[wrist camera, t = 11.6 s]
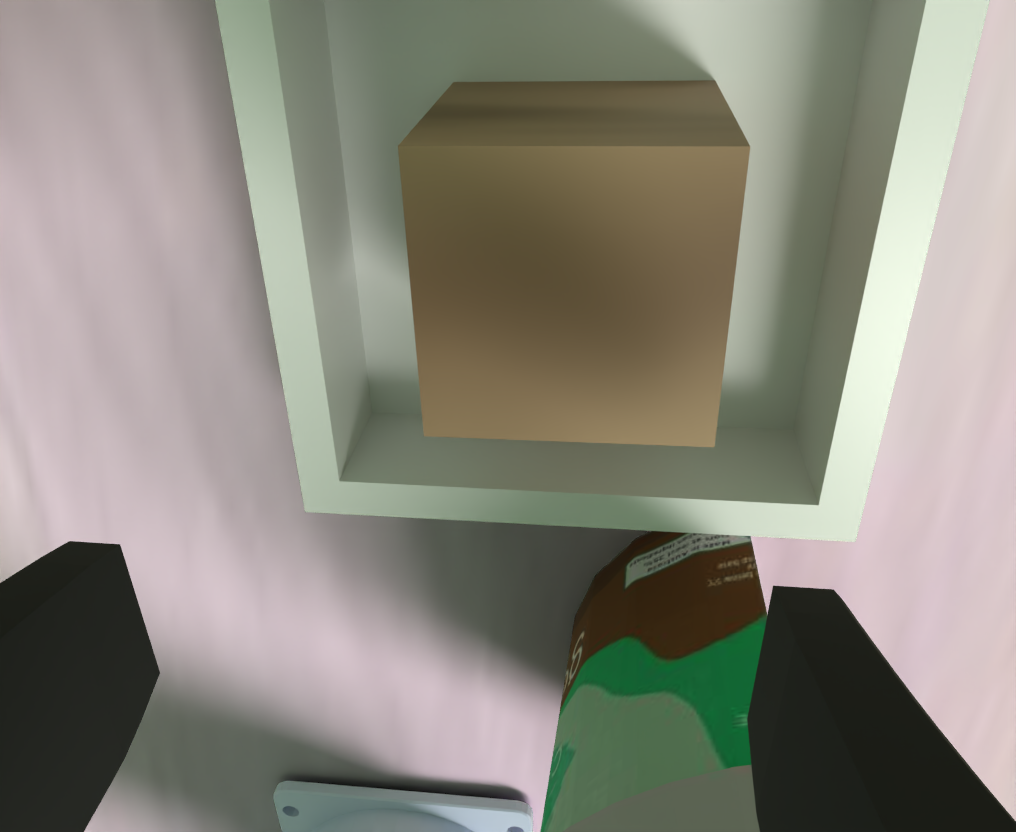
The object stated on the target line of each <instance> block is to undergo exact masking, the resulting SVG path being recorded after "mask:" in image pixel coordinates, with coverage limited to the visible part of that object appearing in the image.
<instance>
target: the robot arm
mask: <svg viewBox="0 0 1016 832" xmlns="http://www.w3.org/2000/svg"><path fill="white" fill-rule="evenodd" d="M159 674H160V672H159V668H158V665H157V662H156V659H155V656H154V652H153V649H152V646H151V643H150V639H149V636H148V633H147V630H146V627H145V623H144V620H143V617H142V614H141V611H140V607H139V604H138V601H137V598H136V594H135V591H134V588H133V585H132V582H131V578H130V575H129V572H128V569H127V566H126V562H125V559H124V556H123V553H122V549H121V546H120V544H104V543H88V542H72V541H69V542H67V543H66V544H64V545H62V546H60V547H58V548H57V549H55V550H53V551H51V552H50V553H48V554H46V555H45V556H43V557H41V558H40V559H38V560H36V561H35V562H33V563H32V564H30V565H28V566H27V567H25V568H24V569H22V570H20V571H19V572H17V573H16V574H14V575H12V576H11V577H9V578H8V579H6V580H5V581H3V582H1V583H0V832H84V830H85V829H86V827H87V825H88V823H89V821H90V820H91V818H92V816H93V814H94V813H95V811H96V809H97V807H98V805H99V804H100V802H101V800H102V798H103V797H104V795H105V793H106V791H107V789H108V788H109V786H110V784H111V782H112V781H113V779H114V777H115V775H116V773H117V771H118V770H119V768H120V766H121V764H122V762H123V760H124V759H125V757H126V754H127V752H128V750H129V747H130V745H131V743H132V740H133V738H134V736H135V733H136V731H137V729H138V727H139V724H140V722H141V720H142V717H143V715H144V712H145V710H146V707H147V704H148V702H149V699H150V697H151V694H152V692H153V689H154V687H155V684H156V682H157V679H158V676H159ZM747 722H748V733H749V744H750V756H751V767H752V777H753V786H754V796H755V806H756V814H757V819H758V824H759V829H760V832H1016V821H1015V820H1014V819H1013V818H1012V817H1011V815H1010V814H1009V813H1008V812H1007V811H1006V810H1005V808H1004V807H1003V806H1002V805H1001V804H1000V803H999V801H998V800H997V799H996V798H995V797H994V795H993V794H992V793H991V792H990V791H989V790H988V788H987V787H986V786H985V785H984V784H983V782H982V781H981V780H980V779H979V777H978V776H977V775H976V774H975V773H974V771H973V770H972V769H971V768H970V766H969V765H968V764H967V763H966V761H965V760H964V759H963V758H962V757H961V755H960V754H959V753H958V752H957V750H956V749H955V748H954V747H953V745H952V744H951V743H950V742H949V741H948V739H947V738H946V737H945V736H944V734H943V733H942V732H941V731H940V729H939V728H938V727H937V726H936V724H935V723H934V722H933V721H932V719H931V718H930V717H929V716H928V714H927V713H926V712H925V710H924V709H923V708H922V707H921V705H920V704H919V703H918V701H917V700H916V699H915V697H914V696H913V695H912V694H911V692H910V691H909V690H908V688H907V687H906V686H905V684H904V683H903V682H902V680H901V679H900V678H899V676H898V675H897V674H896V672H895V671H894V670H893V668H892V667H891V666H890V664H889V663H888V662H887V660H886V659H885V658H884V656H883V655H882V654H881V652H880V651H879V649H878V648H877V647H876V645H875V644H874V643H873V641H872V640H871V639H870V637H869V636H868V634H867V633H866V632H865V630H864V629H863V628H862V626H861V625H860V623H859V622H858V621H857V619H856V618H855V616H854V615H853V614H852V612H851V611H850V610H849V608H848V607H847V605H846V604H845V603H844V601H843V600H842V599H841V597H840V596H839V595H838V594H837V593H836V592H835V591H834V590H831V589H815V588H800V587H784V586H773V590H772V595H771V600H770V605H769V610H768V615H767V620H766V625H765V631H764V636H763V641H762V646H761V651H760V656H759V661H758V666H757V671H756V676H755V682H754V687H753V692H752V697H751V702H750V707H749V712H748V717H747ZM273 800H274V804H275V807H276V811H277V815H278V819H279V823H280V827H281V831H282V832H533V811H532V808H531V807H530V806H529V805H528V804H526V803H524V802H522V801H517V800H507V799H495V798H484V797H472V796H461V795H450V794H438V793H427V792H415V791H404V790H392V789H381V788H369V787H358V786H346V785H335V784H323V783H312V782H300V781H283V782H281V783H279V784H278V785H277V787H276V789H275V792H274V795H273Z"/></svg>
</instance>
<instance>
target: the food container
mask: <svg viewBox="0 0 1016 832" xmlns="http://www.w3.org/2000/svg"><path fill="white" fill-rule="evenodd" d="M766 620H767V612H766V607H765V602H764V598H763V593H762V588H761V584H760V579H759V574H758V570H757V565H756V560H755V556H754V551H753V546H752V542H751V537H750V536H738V535H719V534H701V533H682V532H664V531H651V532H649V533H647V534H645V535H643V536H641V537H639V538H636V539H635V540H634V541H633V542H632V543H631V544H629V545H628V546H627V547H626V548H625V549H624V550H623V551H622V552H621V553H620V554H618V555H617V556H616V557H615V558H614V559H613V560H612V561H611V562H610V563H609V564H608V565H606V566H605V567H604V568H603V569H602V570H601V571H600V572H599V573H598V574H597V575H596V576H595V578H594V580H593V581H592V583H591V585H590V587H589V589H588V591H587V593H586V595H585V597H584V599H583V601H582V603H581V605H580V607H579V609H578V611H577V613H576V615H575V620H574V626H573V632H572V639H571V645H570V651H569V657H568V664H567V670H566V676H565V682H564V689H563V695H562V701H561V707H560V714H559V720H558V726H557V732H556V739H555V745H554V751H553V757H552V764H551V770H550V776H549V782H548V789H547V795H546V801H545V807H544V814H543V820H542V826H541V832H760V829H759V824H758V819H757V814H756V806H755V796H754V786H753V777H752V767H751V756H750V744H749V733H748V722H747V717H748V712H749V707H750V702H751V697H752V692H753V687H754V682H755V676H756V671H757V666H758V661H759V656H760V651H761V646H762V641H763V636H764V631H765V625H766Z"/></svg>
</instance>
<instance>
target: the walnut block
mask: <svg viewBox="0 0 1016 832" xmlns="http://www.w3.org/2000/svg"><path fill="white" fill-rule="evenodd" d="M398 154H399V166H400V177H401V188H402V199H403V210H404V221H405V232H406V243H407V255H408V266H409V277H410V288H411V299H412V310H413V321H414V332H415V344H416V355H417V366H418V377H419V388H420V399H421V410H422V422H423V433H424V436H428V437H454V438H480V439H507V440H533V441H560V442H586V443H612V444H639V445H665V446H692V447H715V438H716V430H717V422H718V413H719V405H720V397H721V388H722V380H723V372H724V363H725V355H726V346H727V338H728V330H729V321H730V313H731V305H732V296H733V288H734V280H735V271H736V263H737V254H738V246H739V238H740V229H741V221H742V213H743V204H744V196H745V188H746V179H747V171H748V163H749V154H750V145H749V143H748V141H747V139H746V137H745V135H744V133H743V132H742V130H741V128H740V126H739V124H738V122H737V120H736V118H735V117H734V115H733V113H732V111H731V109H730V107H729V105H728V103H727V102H726V100H725V98H724V96H723V94H722V92H721V90H720V88H719V86H718V85H717V83H716V81H715V80H688V81H531V82H453V83H452V84H451V85H450V87H449V88H448V89H447V90H446V91H445V92H444V93H443V95H442V96H441V97H440V98H439V99H438V100H437V102H436V103H435V104H434V105H433V106H432V107H431V108H430V110H429V111H428V112H427V113H426V114H425V115H424V116H423V118H422V119H421V120H420V121H419V122H418V123H417V124H416V126H415V127H414V128H413V129H412V130H411V131H410V132H409V134H408V135H407V136H406V137H405V138H404V139H403V140H402V142H401V143H400V144H399V145H398Z"/></svg>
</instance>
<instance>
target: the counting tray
mask: <svg viewBox="0 0 1016 832" xmlns="http://www.w3.org/2000/svg"><path fill="white" fill-rule="evenodd" d="M989 1H990V0H215V4H216V9H217V15H218V21H219V26H220V32H221V38H222V43H223V49H224V55H225V60H226V66H227V72H228V77H229V83H230V89H231V94H232V100H233V106H234V112H235V117H236V123H237V129H238V134H239V140H240V146H241V151H242V157H243V163H244V168H245V174H246V180H247V185H248V191H249V197H250V202H251V208H252V214H253V219H254V225H255V231H256V236H257V242H258V248H259V254H260V259H261V265H262V271H263V276H264V282H265V288H266V293H267V299H268V305H269V310H270V316H271V322H272V327H273V333H274V339H275V344H276V350H277V356H278V361H279V367H280V373H281V378H282V384H283V390H284V396H285V401H286V407H287V413H288V418H289V424H290V430H291V435H292V441H293V447H294V452H295V458H296V464H297V469H298V475H299V481H300V486H301V492H302V498H303V503H304V509H305V512H313V513H332V514H350V515H369V516H387V517H405V518H424V519H442V520H461V521H479V522H498V523H516V524H535V525H553V526H572V527H590V528H608V529H627V530H645V531H664V532H682V533H701V534H719V535H738V536H756V537H775V538H793V539H811V540H830V541H848V542H856V538H857V534H858V529H859V525H860V521H861V517H862V513H863V509H864V505H865V501H866V497H867V493H868V489H869V485H870V481H871V477H872V473H873V469H874V465H875V461H876V457H877V453H878V449H879V445H880V441H881V437H882V433H883V429H884V425H885V421H886V417H887V413H888V409H889V404H890V400H891V396H892V392H893V388H894V384H895V380H896V376H897V372H898V368H899V364H900V360H901V356H902V352H903V348H904V344H905V340H906V336H907V332H908V328H909V324H910V320H911V316H912V312H913V308H914V304H915V300H916V296H917V292H918V288H919V284H920V279H921V275H922V271H923V267H924V263H925V259H926V255H927V251H928V247H929V243H930V239H931V235H932V231H933V227H934V223H935V219H936V215H937V211H938V207H939V203H940V199H941V195H942V191H943V187H944V183H945V179H946V175H947V171H948V167H949V163H950V159H951V154H952V150H953V146H954V142H955V138H956V134H957V130H958V126H959V122H960V118H961V114H962V110H963V106H964V102H965V98H966V94H967V90H968V86H969V82H970V78H971V74H972V70H973V66H974V62H975V58H976V54H977V50H978V46H979V42H980V38H981V34H982V29H983V25H984V21H985V17H986V13H987V9H988V5H989ZM688 80H715V81H716V83H717V85H718V86H719V88H720V90H721V92H722V94H723V96H724V98H725V100H726V102H727V103H728V105H729V107H730V109H731V111H732V113H733V115H734V117H735V118H736V120H737V122H738V124H739V126H740V128H741V130H742V132H743V133H744V135H745V137H746V139H747V141H748V143H749V145H750V154H749V163H748V171H747V179H746V188H745V196H744V204H743V213H742V221H741V229H740V238H739V246H738V254H737V263H736V271H735V280H734V288H733V296H732V305H731V313H730V321H729V330H728V338H727V346H726V355H725V363H724V372H723V380H722V388H721V397H720V405H719V413H718V422H717V430H716V438H715V447H692V446H665V445H639V444H612V443H586V442H560V441H533V440H507V439H480V438H454V437H428V436H424V433H423V422H422V410H421V399H420V388H419V377H418V366H417V355H416V344H415V332H414V321H413V310H412V299H411V288H410V277H409V266H408V255H407V243H406V232H405V221H404V210H403V199H402V188H401V177H400V166H399V154H398V145H399V144H400V143H401V142H402V140H403V139H404V138H405V137H406V136H407V135H408V134H409V132H410V131H411V130H412V129H413V128H414V127H415V126H416V124H417V123H418V122H419V121H420V120H421V119H422V118H423V116H424V115H425V114H426V113H427V112H428V111H429V110H430V108H431V107H432V106H433V105H434V104H435V103H436V102H437V100H438V99H439V98H440V97H441V96H442V95H443V93H444V92H445V91H446V90H447V89H448V88H449V87H450V85H451V84H452V83H453V82H531V81H688Z"/></svg>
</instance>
